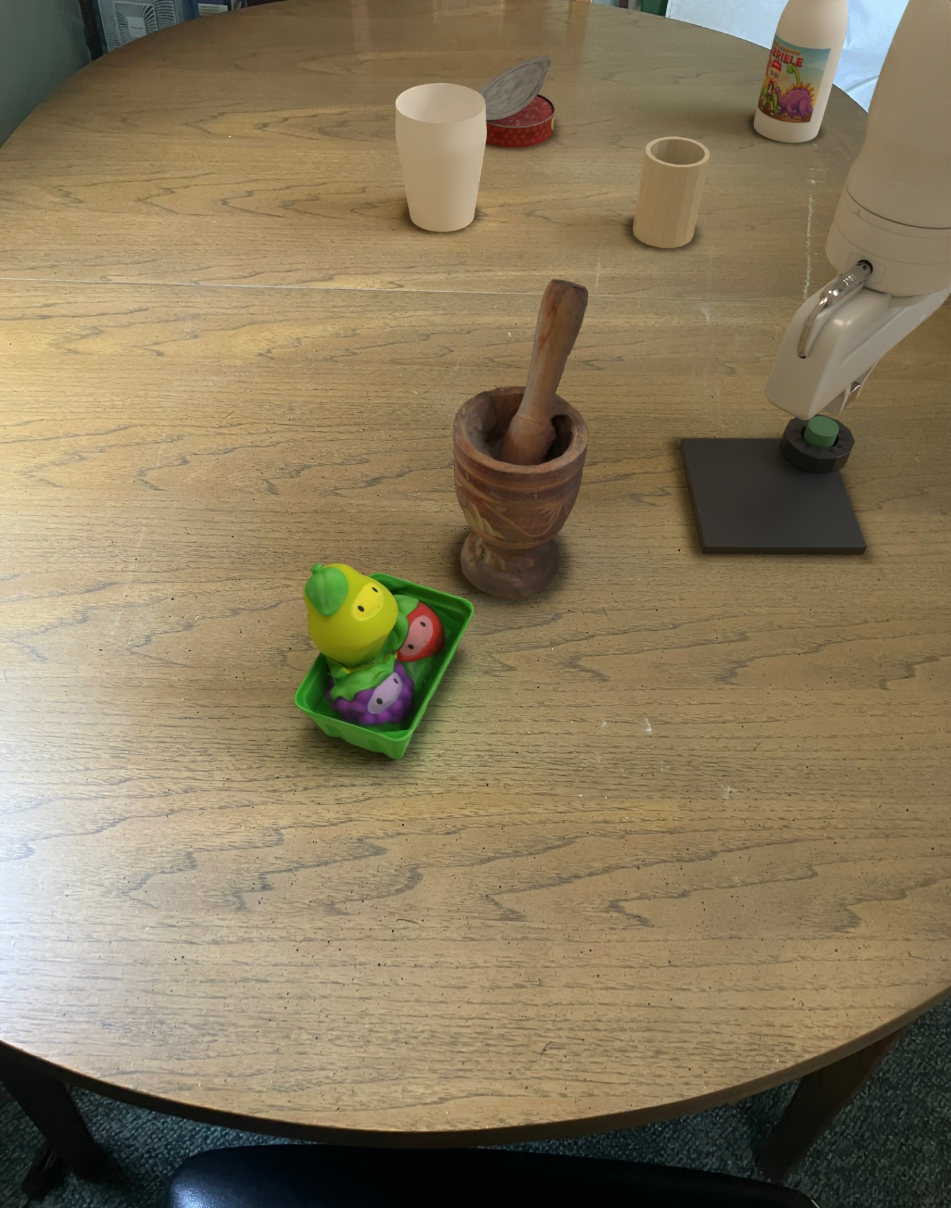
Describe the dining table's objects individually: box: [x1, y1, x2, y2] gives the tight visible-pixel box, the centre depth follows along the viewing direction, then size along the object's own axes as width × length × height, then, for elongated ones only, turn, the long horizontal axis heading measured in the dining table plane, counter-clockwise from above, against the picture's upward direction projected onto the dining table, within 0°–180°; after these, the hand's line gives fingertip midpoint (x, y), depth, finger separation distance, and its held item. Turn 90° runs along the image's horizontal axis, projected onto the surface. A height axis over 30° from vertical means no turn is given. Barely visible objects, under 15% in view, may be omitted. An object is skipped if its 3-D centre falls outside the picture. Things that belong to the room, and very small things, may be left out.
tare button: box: [803, 416, 839, 448], centre depth 75 cm, size 2×2×1 cm
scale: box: [679, 413, 868, 555], centre depth 74 cm, size 13×13×3 cm
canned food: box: [478, 55, 556, 149], centre depth 111 cm, size 11×10×10 cm
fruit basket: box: [293, 562, 475, 760], centre depth 58 cm, size 11×9×11 cm
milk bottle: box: [753, 0, 849, 144], centre depth 107 cm, size 8×8×20 cm
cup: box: [394, 82, 487, 233], centre depth 96 cm, size 9×9×12 cm
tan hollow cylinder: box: [632, 136, 711, 249], centre depth 95 cm, size 6×6×9 cm
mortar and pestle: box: [452, 278, 589, 599], centre depth 63 cm, size 12×9×20 cm
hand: (837, 403), depth 73 cm, fingers closed
